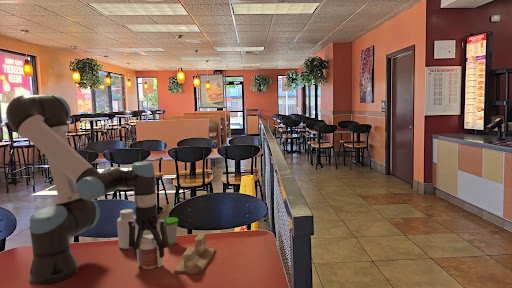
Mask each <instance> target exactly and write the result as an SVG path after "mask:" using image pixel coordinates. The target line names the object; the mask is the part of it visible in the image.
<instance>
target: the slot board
mask: <svg viewBox="0 0 512 288" xmlns="http://www.w3.org/2000/svg"><path fill="white" fill-rule="evenodd" d="M206 237H207V235H206V233H199V234H198V235H197V236H196V237H195V238H194V246H193V247H191V246H189V247H187V248H186V251H184V253H182V254H183V255H182V256H183V257H182V259H181V260H180V262H179V263H178V264H177V266H176V267H175V268H174V269H173V274H187V275H189V274H191V275H193V274H194V275H202V274H203V273H204V271H205V269H206V268H207V266H208V264H209V262H210V260H211V259H212V257H213V256H214V254H215V252H216V248H215V247H212V248H211V247H207V238H206Z"/></svg>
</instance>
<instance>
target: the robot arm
mask: <svg viewBox="0 0 512 288" xmlns="http://www.w3.org/2000/svg"><path fill="white" fill-rule="evenodd" d="M71 113H72V112H71V107H70V105H69V104H68V102H67V101H66V100H65V98H63V97H61V96H59V95H57V94H49V93H47V94H21V95H19V96H18V95H17V96H16V97H14V98H13V99H12V100H11V101H10V102H9V103H8V105H7V106H6V110H5V117H6V119H7V123H8V125H9V126H10V127H11V129H12V130H13V131H14V132H15V133H16V134H17V135H18V136H19V137H20V138H26V139H27V140H28V141H29V142H30V143H32V144H33V145H34V146H35V147H36V148H37V149H38V150H39V151H40V152H41V153H42V154H44V155H45V156H46V159H47V162H48V167H49V169H50V173H51V176H52V179H53V183H54V187H55V190H56V193H57V196H58V199H57V200H56V202H55V205H51V206H48V207H43V208H41V209H39V210H36V211H35V212H34V213H33V214H32V215H31V216H30V218H29V227H28V228H29V231H30V233H29V234H30V240H31V241H30V242H31V247H32V255H33V257H32V261H31V265H30V269H29V270H30V271H29V281H30V282H31V283H33V284H36V285H49V284H54V283H59V282H61V281H64V280H67V279H69V278H71V277H72V276H74V275H75V274H76V273H77V272H78V262H77V261H76V259H75V257H74V254H73V252H72V250H71V244H70V239H71V238H73V237H75V236H77V235H80V234H81V233H84V232H86V231H88V230H90V229H91V228H93V227H94V226H95V225H96V224H97V223H98V221H99V219H100V207H99V205H98V203H97V201H94V200H95V199H99V198H101V197H102V196H105V195H107V194H110V193H113V192H115V191H118V190H120V189H130V190H131V189H132V190H133V196H134V197H133V198H134V205H135V207H134V209H135V210H134V211H135V212H134V213H135V217H136V219H135V220H133V219H132V220H130V221H129V222H128V225H129V247H132V248H131V249H134V251H133V253H134V257H135V258H136V259H137V267H142V266H141V256H140V244H141V243H142V241H141V238H142V237H143V236H144V231H150V233H151V235H153V237H154V239H155V240H154V241H155V242H156V244H157V248H158V249H157V261H158V266H157V268H161V267H162V266H163V264H164V263H163V258H164V257H165V249H167V247H168V245H169V242H168V237H167V231H166V220H161V219H159V217H158V206H157V192H156V179H155V178H156V177H155V176H156V174H155V166H154V163H153V162H151V161H136V162H133V163H132V165H131V167H123V166H122V167H121V166H111V167H109V166H108V167H106V168H104V170H103V171H102V172H99V170H97V169H96V168H95V167H93V165H92V164H90V163H89V162H88V161H87V160H86V159H85V158H84V157H83V156H82V155H80V153H78V152H77V151H76V150H75V149H74V148H73V147H72V146H71V145H70V144H69V140H68V137H67V133H66V131H67V129H68V127H69V124H68V121H69V120H70V118H71V117H70V116H71ZM136 223H137V227H138V234H137V237H136V240H135V225H136ZM157 225H158V226H159V230H160V233H159V231H158V227H157Z"/></svg>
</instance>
